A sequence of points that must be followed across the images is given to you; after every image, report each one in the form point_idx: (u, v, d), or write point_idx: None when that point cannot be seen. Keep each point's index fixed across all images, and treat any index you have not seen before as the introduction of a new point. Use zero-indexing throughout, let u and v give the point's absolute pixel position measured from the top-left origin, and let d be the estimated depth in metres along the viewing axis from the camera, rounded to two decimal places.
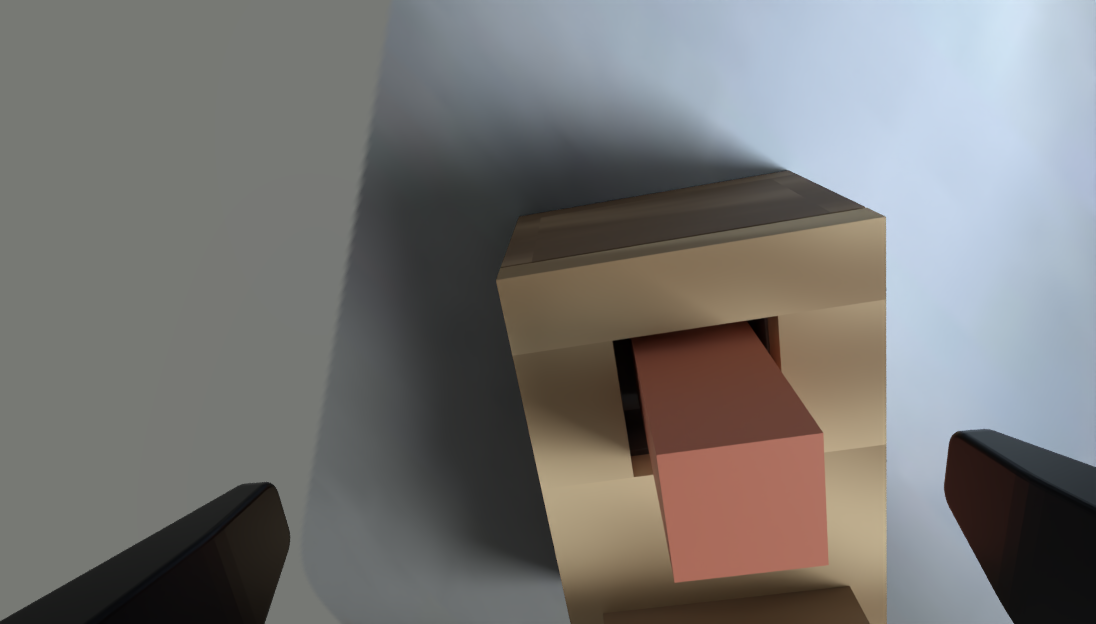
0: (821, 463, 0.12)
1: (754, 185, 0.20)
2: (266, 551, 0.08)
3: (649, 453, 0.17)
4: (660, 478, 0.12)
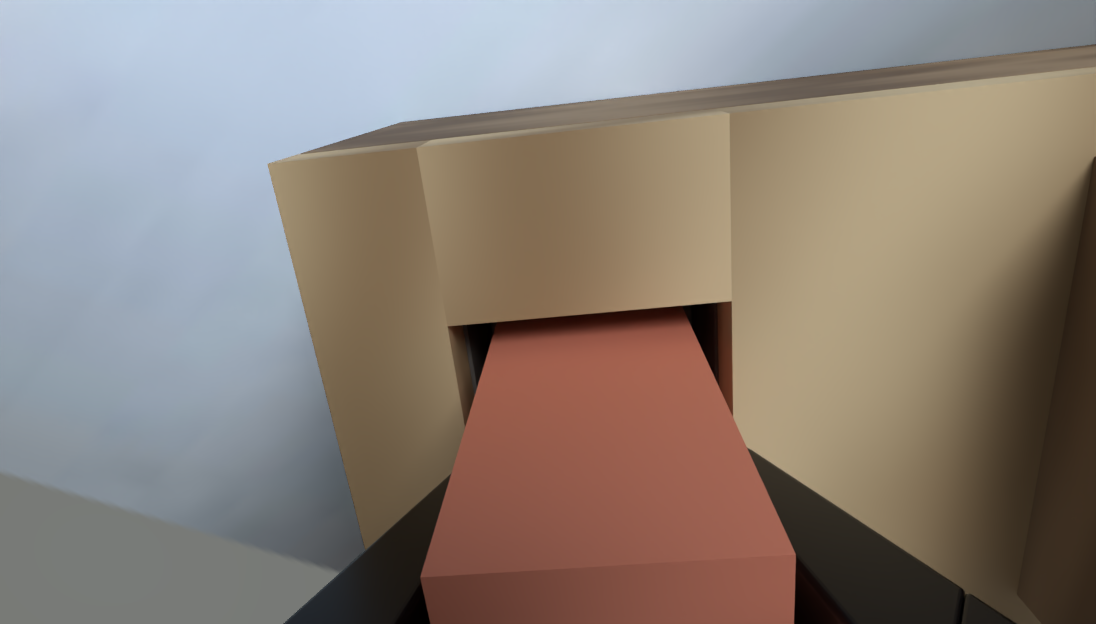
0: (496, 580, 0.05)
1: None
2: None
3: None
4: None
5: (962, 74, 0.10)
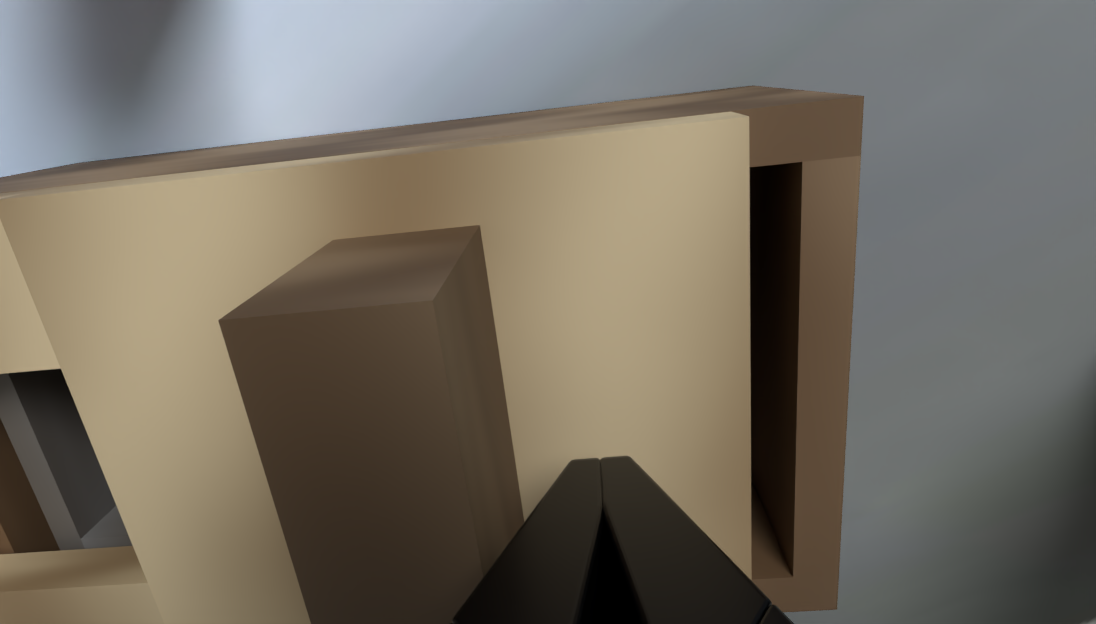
0: None
1: None
2: None
3: None
4: None
5: (454, 135, 0.11)
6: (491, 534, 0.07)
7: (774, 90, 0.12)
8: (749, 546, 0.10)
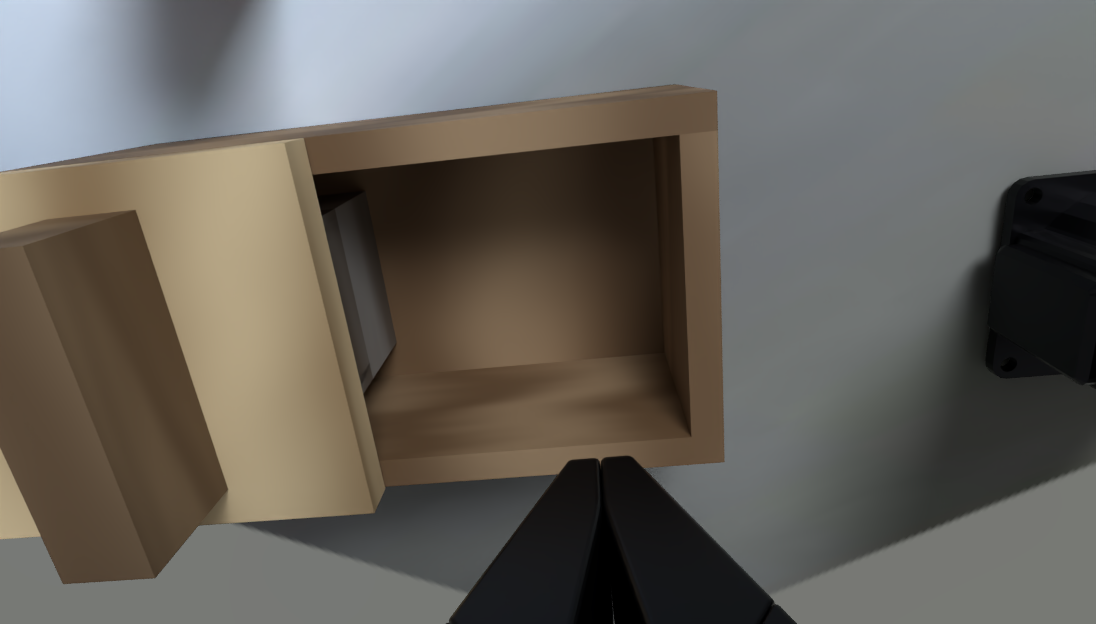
0: None
1: None
2: None
3: None
4: None
5: (447, 118, 0.15)
6: (112, 392, 0.13)
7: (679, 87, 0.17)
8: (351, 425, 0.15)
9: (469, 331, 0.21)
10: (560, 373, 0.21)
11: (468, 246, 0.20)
